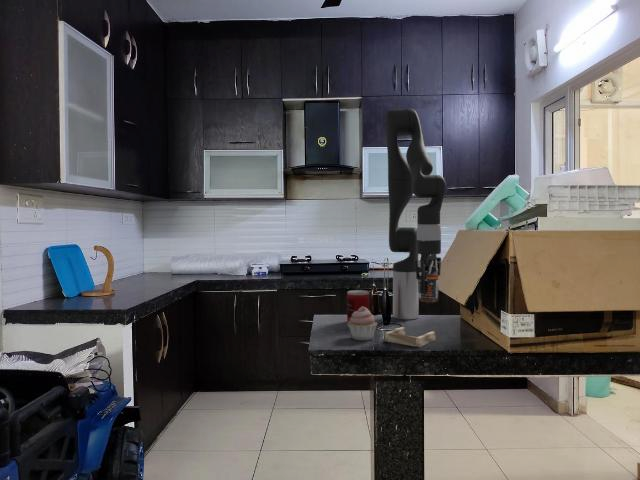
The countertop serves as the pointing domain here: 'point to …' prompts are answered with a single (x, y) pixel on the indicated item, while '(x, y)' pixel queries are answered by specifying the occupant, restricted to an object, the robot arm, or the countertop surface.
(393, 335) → the keeper
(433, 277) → the supplement bottle
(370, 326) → the cupcake
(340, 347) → the countertop surface
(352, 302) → the canned food
